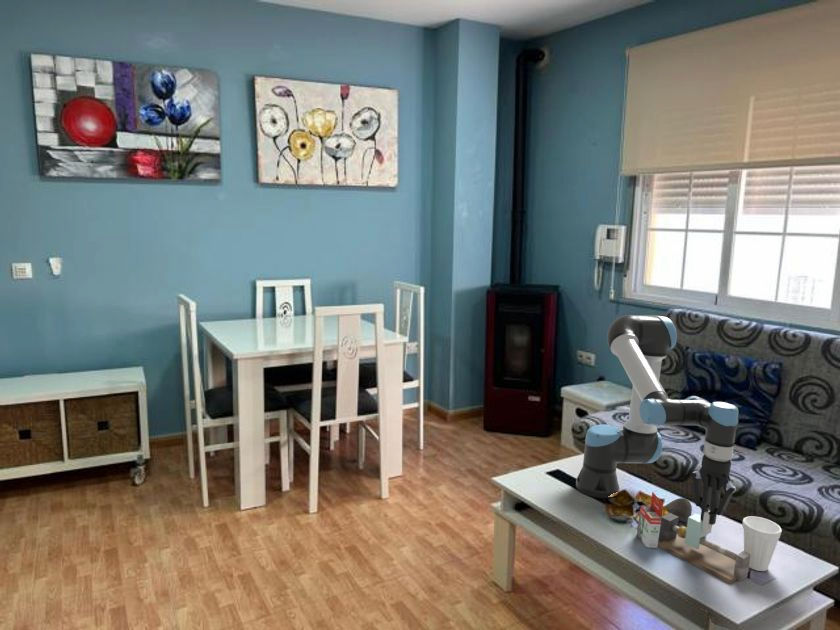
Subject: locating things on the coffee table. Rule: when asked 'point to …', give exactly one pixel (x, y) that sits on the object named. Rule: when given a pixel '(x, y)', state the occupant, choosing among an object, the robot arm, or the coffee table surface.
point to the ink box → (650, 522)
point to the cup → (760, 541)
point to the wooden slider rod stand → (702, 552)
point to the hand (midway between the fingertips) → (706, 532)
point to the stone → (680, 509)
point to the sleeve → (694, 531)
